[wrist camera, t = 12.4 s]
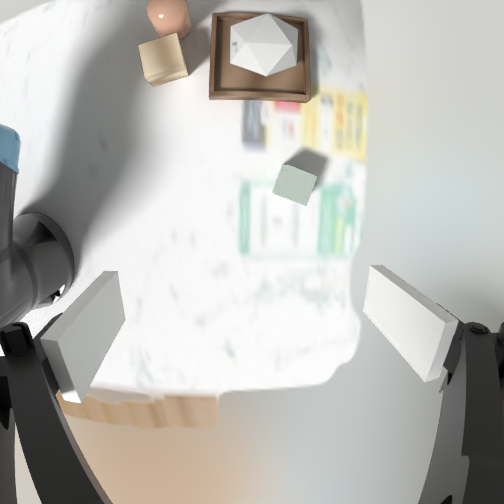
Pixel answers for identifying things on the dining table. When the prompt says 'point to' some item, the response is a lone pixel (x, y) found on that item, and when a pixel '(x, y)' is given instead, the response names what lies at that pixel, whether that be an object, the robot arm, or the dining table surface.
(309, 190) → the grey-green block
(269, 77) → the walnut tray
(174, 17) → the peach rounded capsule
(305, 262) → the dining table surface
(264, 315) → the dining table surface
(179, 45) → the oak block
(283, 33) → the die
